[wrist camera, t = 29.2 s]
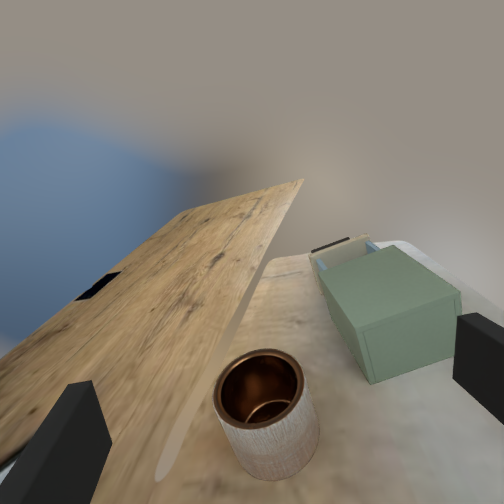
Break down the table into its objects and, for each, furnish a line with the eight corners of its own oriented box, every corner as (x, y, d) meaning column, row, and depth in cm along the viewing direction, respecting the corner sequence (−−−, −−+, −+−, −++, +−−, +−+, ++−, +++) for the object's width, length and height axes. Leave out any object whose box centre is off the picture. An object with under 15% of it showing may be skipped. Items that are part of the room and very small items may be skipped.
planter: (274, 510, 32) (249, 456, 27) (219, 438, 40) (194, 389, 36) (340, 432, 37) (327, 377, 32) (279, 383, 45) (263, 335, 41)
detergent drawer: (310, 277, 67) (299, 242, 63) (360, 259, 66) (352, 222, 63) (345, 336, 48) (332, 290, 45) (415, 311, 48) (407, 263, 44)
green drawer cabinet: (333, 323, 53) (317, 272, 49) (402, 298, 52) (393, 244, 48) (371, 390, 40) (354, 328, 35) (466, 358, 39) (460, 291, 35)
